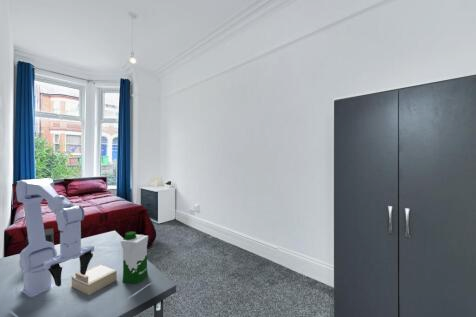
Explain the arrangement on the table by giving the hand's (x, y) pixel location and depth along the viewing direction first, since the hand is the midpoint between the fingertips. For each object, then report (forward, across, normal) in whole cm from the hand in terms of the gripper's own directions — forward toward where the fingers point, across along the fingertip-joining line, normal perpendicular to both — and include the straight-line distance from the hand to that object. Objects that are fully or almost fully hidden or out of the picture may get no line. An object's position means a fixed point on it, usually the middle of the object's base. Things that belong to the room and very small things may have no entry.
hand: (71, 279), depth 76 cm
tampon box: (+11, +10, +50) cm, 52 cm away
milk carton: (+10, +21, -6) cm, 24 cm away
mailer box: (+10, +11, +6) cm, 16 cm away
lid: (+6, +11, +6) cm, 14 cm away
